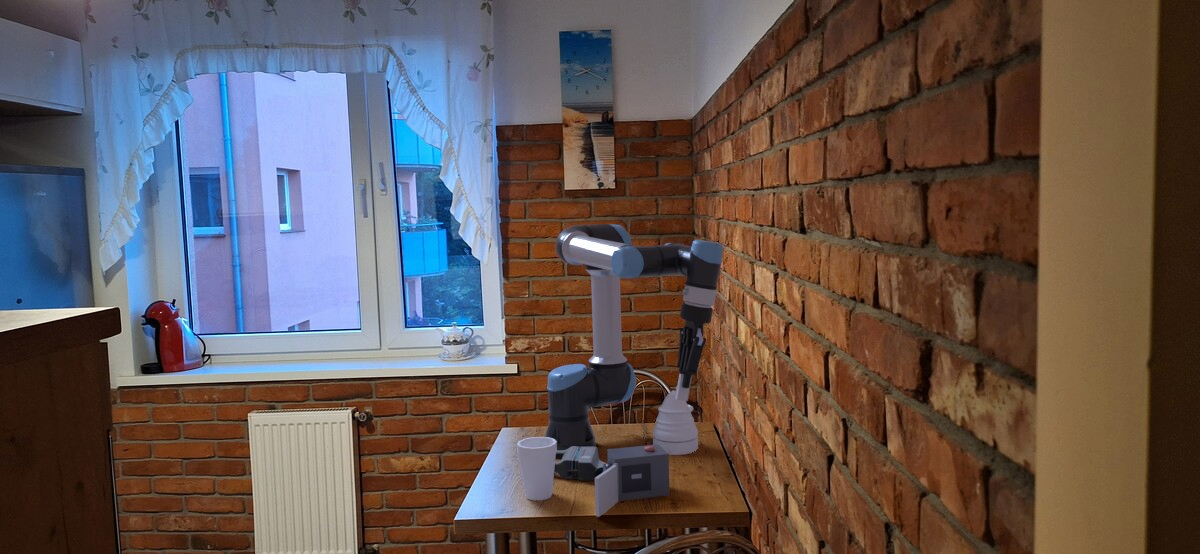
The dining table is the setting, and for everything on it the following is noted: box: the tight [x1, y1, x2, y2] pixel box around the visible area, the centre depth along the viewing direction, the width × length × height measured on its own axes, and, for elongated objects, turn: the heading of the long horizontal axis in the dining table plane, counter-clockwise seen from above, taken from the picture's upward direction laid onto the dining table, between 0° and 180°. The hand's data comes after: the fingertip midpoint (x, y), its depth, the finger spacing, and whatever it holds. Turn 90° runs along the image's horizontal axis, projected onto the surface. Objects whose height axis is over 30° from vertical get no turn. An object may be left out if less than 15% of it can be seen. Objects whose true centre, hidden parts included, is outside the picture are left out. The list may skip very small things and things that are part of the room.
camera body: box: [603, 444, 670, 502], centre depth 174 cm, size 8×15×11 cm, turn 102°
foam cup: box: [516, 436, 557, 501], centre depth 175 cm, size 10×9×13 cm
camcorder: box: [554, 446, 608, 482], centre depth 191 cm, size 16×20×5 cm
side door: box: [594, 463, 620, 518], centre depth 164 cm, size 1×10×9 cm, turn 153°
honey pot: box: [652, 385, 699, 456], centre depth 209 cm, size 13×13×18 cm
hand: (681, 399), depth 177 cm, fingers closed
